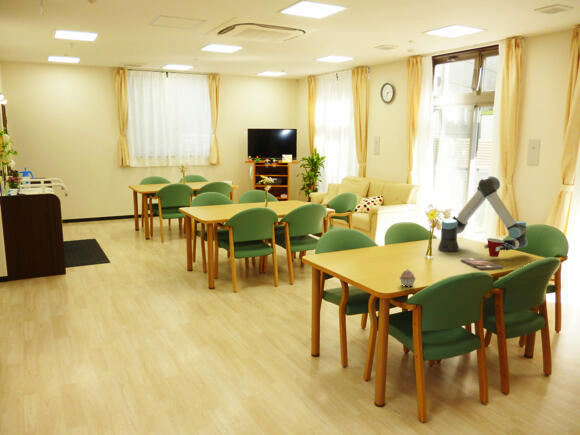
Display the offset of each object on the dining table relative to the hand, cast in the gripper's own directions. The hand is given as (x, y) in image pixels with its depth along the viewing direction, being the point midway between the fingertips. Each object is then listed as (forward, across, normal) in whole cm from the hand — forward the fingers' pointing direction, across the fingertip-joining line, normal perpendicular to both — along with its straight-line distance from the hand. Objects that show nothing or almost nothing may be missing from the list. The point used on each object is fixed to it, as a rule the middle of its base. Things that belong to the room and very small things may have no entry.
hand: (490, 247), depth 322 cm
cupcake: (+90, -12, -10) cm, 92 cm away
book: (+15, -4, -9) cm, 18 cm away
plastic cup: (-5, 0, -7) cm, 8 cm away
